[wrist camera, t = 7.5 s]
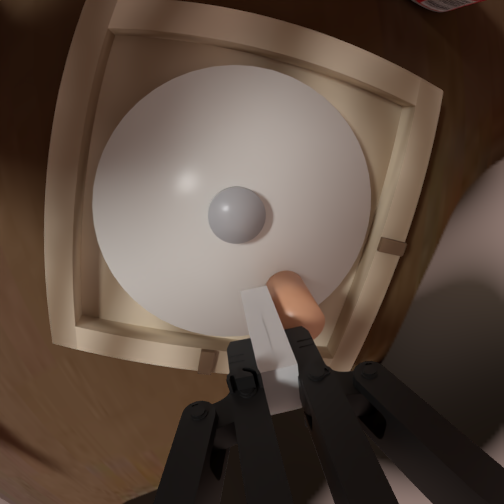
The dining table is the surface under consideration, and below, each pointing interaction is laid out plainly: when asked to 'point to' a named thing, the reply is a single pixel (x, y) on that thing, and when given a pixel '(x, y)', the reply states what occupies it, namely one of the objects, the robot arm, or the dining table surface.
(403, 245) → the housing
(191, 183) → the dial
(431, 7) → the soda can
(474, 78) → the dining table surface
